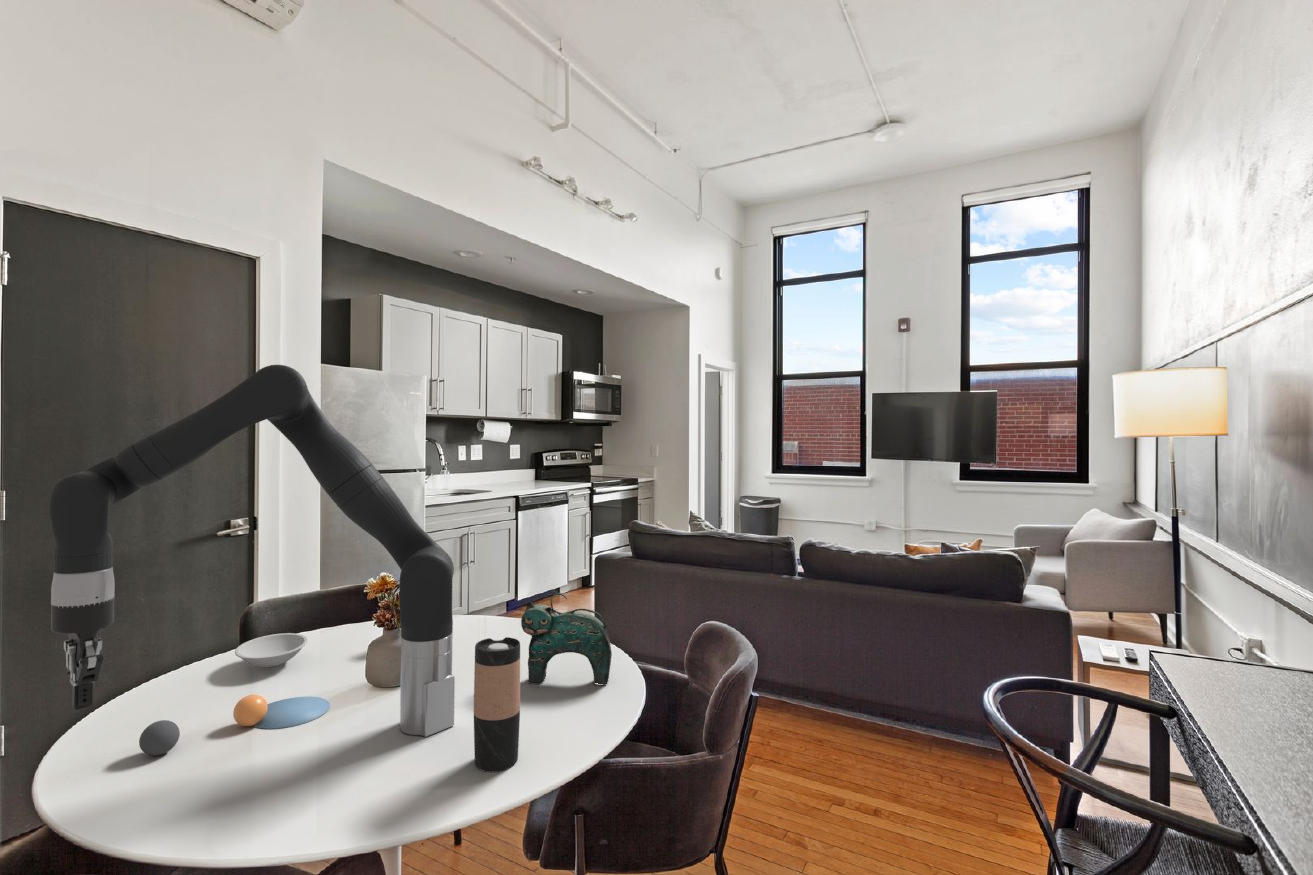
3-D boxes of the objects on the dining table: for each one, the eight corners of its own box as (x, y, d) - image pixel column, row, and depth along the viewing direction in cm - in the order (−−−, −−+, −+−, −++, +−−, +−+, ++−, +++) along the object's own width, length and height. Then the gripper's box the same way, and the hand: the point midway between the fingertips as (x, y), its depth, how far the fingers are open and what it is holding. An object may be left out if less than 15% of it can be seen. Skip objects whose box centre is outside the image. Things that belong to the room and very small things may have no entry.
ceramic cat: (519, 685, 142) (520, 594, 142) (526, 674, 149) (527, 587, 148) (609, 688, 141) (610, 597, 141) (612, 677, 148) (614, 589, 147)
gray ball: (184, 752, 111) (184, 720, 111) (144, 765, 107) (144, 732, 107) (173, 742, 114) (173, 711, 114) (134, 754, 110) (135, 722, 110)
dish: (249, 655, 158) (249, 635, 158) (314, 650, 162) (314, 631, 162) (223, 683, 141) (223, 660, 141) (296, 677, 145) (297, 655, 145)
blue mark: (343, 710, 128) (343, 709, 128) (266, 736, 117) (266, 734, 117) (310, 691, 137) (310, 690, 137) (236, 714, 126) (236, 713, 126)
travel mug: (495, 777, 104) (497, 654, 104) (463, 764, 109) (464, 645, 108) (528, 757, 111) (530, 641, 111) (496, 745, 115) (498, 633, 115)
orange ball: (272, 723, 122) (272, 694, 122) (239, 734, 118) (240, 704, 118) (260, 715, 125) (260, 687, 125) (228, 725, 121) (228, 696, 121)
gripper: (125, 600, 101) (123, 710, 101) (103, 586, 109) (102, 688, 110) (60, 610, 95) (59, 727, 95) (42, 594, 103) (41, 702, 104)
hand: (82, 706), depth 103 cm, fingers closed
